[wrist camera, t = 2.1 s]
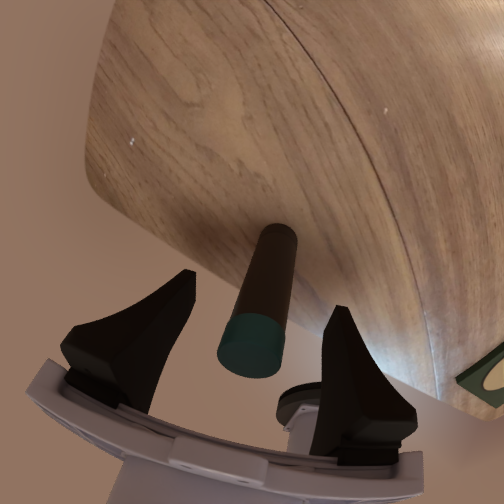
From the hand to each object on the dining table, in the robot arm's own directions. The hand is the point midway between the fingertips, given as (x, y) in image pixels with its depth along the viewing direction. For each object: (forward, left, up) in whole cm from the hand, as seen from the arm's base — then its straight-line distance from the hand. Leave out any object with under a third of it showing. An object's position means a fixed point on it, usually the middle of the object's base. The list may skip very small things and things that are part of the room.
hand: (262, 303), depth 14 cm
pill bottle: (0, 0, -6) cm, 6 cm away
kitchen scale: (-10, -37, -6) cm, 39 cm away
